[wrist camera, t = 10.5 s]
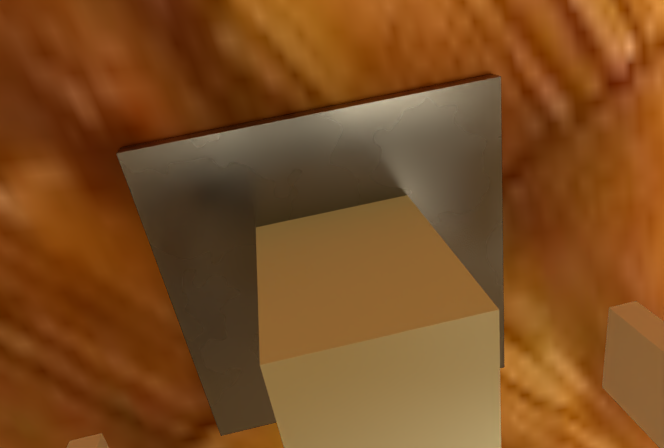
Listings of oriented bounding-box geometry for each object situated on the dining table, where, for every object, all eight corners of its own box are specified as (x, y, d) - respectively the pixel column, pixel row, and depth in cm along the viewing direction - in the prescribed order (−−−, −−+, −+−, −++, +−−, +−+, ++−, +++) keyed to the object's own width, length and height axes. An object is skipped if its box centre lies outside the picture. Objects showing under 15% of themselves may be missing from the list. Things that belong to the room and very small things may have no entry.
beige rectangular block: (286, 349, 19) (305, 521, 12) (255, 227, 16) (259, 365, 10) (420, 318, 19) (501, 471, 13) (407, 195, 17) (499, 309, 11)
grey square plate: (221, 424, 20) (211, 577, 15) (120, 148, 15) (50, 230, 10) (497, 357, 21) (582, 480, 16) (492, 73, 16) (616, 112, 11)
